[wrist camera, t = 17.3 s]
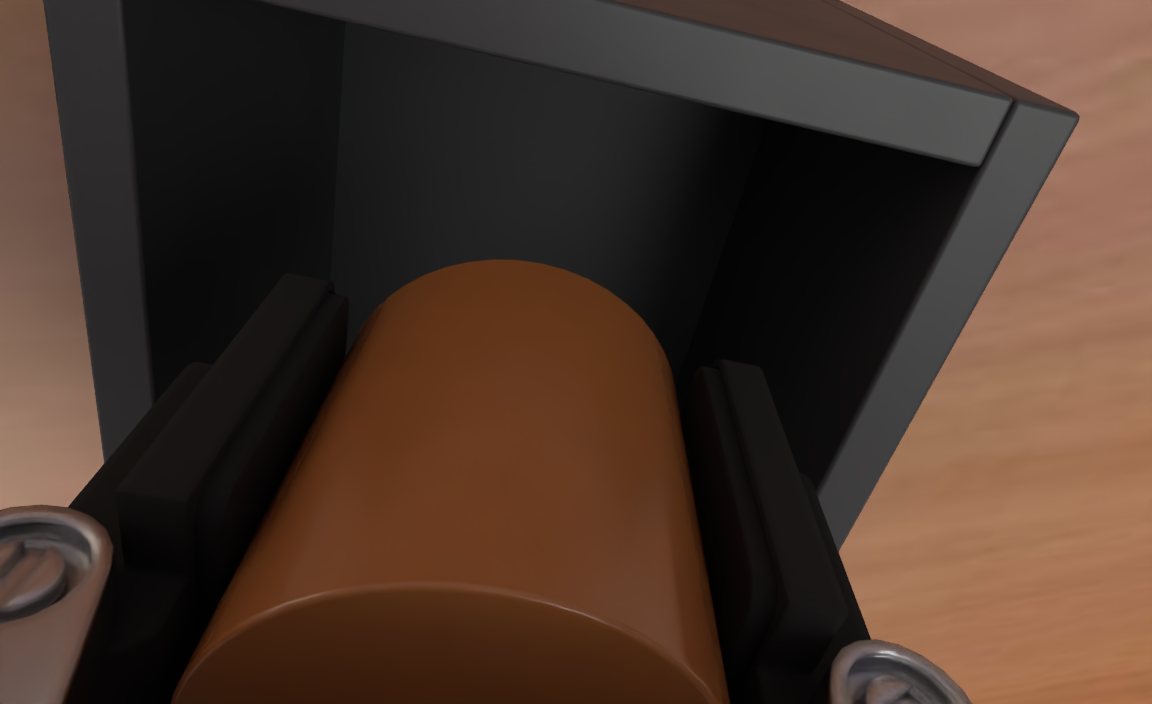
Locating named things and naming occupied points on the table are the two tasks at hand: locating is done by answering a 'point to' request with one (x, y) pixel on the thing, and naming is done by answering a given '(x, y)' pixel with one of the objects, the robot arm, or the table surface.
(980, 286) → the dark storage box
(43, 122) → the table surface
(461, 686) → the orange cylinder
